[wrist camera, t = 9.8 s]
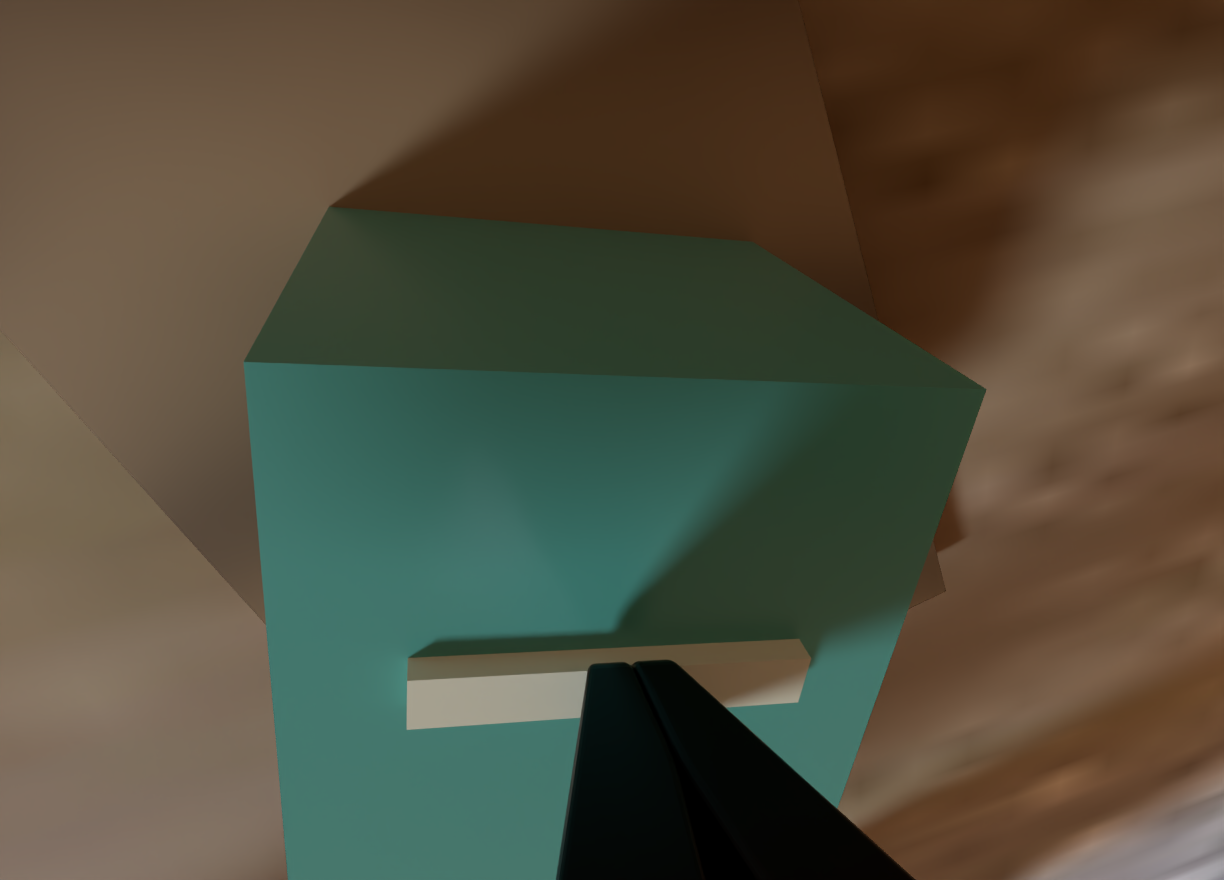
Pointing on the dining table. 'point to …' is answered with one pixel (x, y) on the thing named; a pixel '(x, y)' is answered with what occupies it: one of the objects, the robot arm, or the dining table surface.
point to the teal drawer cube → (567, 518)
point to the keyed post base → (361, 181)
